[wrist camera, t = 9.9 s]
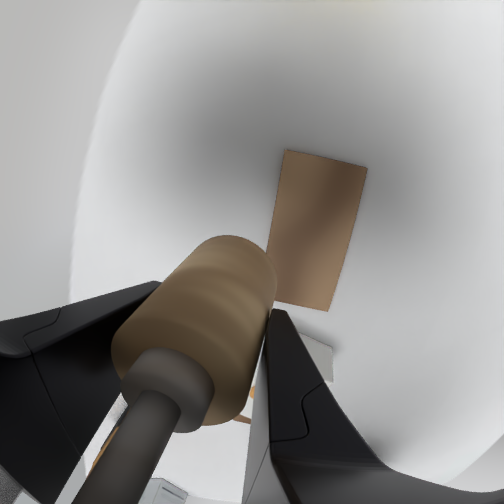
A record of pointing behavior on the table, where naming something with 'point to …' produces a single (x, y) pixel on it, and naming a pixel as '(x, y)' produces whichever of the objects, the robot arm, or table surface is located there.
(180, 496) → the skincare box
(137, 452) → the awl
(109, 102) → the table surface
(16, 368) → the robot arm
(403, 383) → the table surface
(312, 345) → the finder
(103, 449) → the ammunition clip
